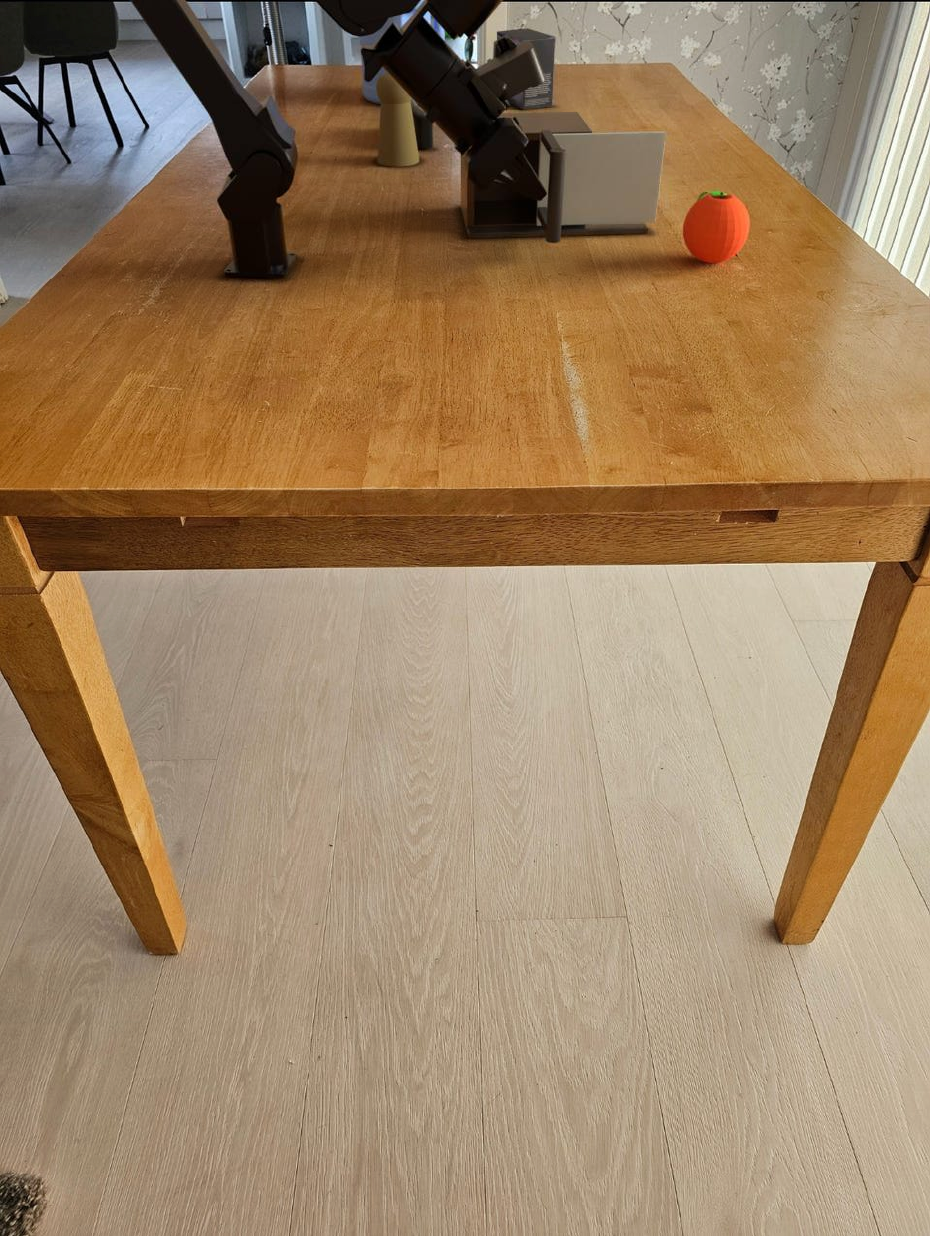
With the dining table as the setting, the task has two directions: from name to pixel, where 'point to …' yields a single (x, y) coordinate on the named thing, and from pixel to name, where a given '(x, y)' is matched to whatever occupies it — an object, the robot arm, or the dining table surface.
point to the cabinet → (515, 212)
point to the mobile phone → (422, 127)
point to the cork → (395, 125)
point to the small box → (545, 53)
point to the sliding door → (598, 179)
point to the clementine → (716, 227)
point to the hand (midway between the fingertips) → (543, 196)
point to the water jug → (369, 40)
